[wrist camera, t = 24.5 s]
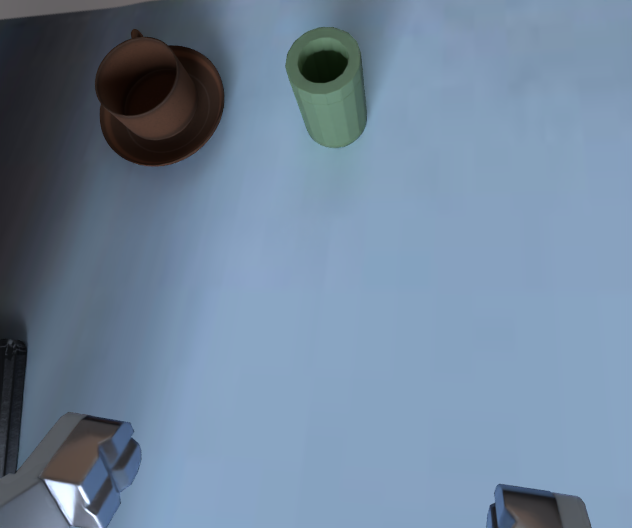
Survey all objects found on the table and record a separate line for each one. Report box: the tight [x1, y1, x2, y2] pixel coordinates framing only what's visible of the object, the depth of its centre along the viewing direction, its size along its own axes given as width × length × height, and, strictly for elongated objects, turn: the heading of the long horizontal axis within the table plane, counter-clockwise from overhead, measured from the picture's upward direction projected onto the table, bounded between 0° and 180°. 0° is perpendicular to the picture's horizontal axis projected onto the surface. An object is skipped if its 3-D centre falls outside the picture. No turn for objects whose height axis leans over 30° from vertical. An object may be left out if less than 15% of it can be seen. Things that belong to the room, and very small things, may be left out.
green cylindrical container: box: [285, 27, 367, 148], centre depth 37 cm, size 5×5×8 cm
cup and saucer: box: [95, 29, 224, 166], centre depth 41 cm, size 12×12×6 cm
